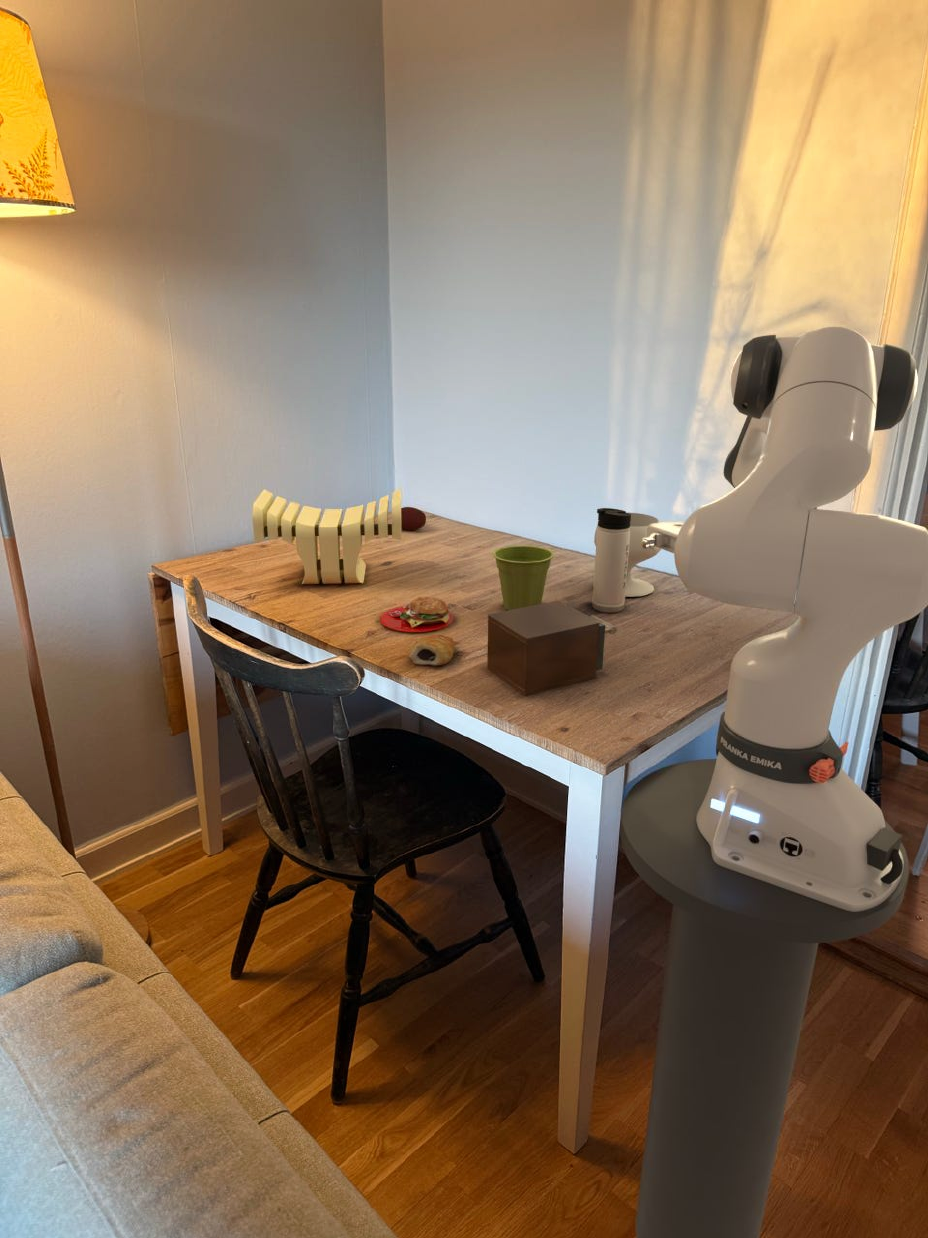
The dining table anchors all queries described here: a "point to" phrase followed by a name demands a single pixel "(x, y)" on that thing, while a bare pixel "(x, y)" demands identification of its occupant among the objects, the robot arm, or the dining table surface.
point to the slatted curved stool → (326, 534)
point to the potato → (412, 518)
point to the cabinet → (542, 647)
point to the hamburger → (418, 616)
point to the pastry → (433, 650)
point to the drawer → (601, 637)
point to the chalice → (638, 553)
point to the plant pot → (522, 574)
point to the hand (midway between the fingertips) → (661, 551)
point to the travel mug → (611, 560)
